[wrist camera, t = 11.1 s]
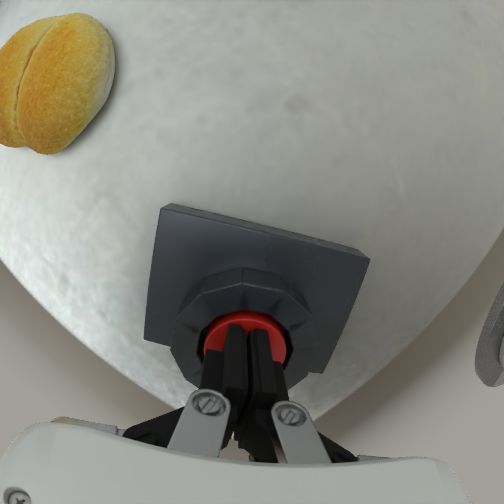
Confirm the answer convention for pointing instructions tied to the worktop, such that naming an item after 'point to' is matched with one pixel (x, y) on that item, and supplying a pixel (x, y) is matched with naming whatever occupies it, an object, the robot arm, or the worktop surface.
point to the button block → (248, 286)
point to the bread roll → (53, 81)
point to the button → (249, 323)
